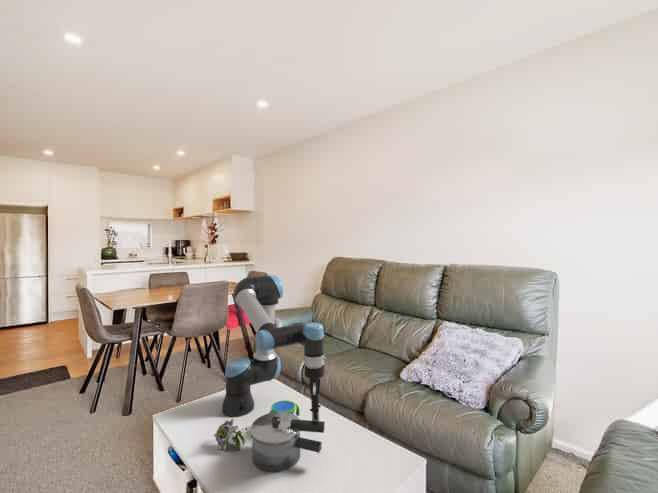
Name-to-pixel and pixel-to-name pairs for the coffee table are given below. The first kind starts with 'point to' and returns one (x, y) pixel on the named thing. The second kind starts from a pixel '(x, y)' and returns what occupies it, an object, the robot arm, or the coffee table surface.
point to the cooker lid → (282, 428)
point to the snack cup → (285, 407)
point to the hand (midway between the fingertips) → (315, 426)
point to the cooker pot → (281, 453)
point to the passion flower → (229, 435)
